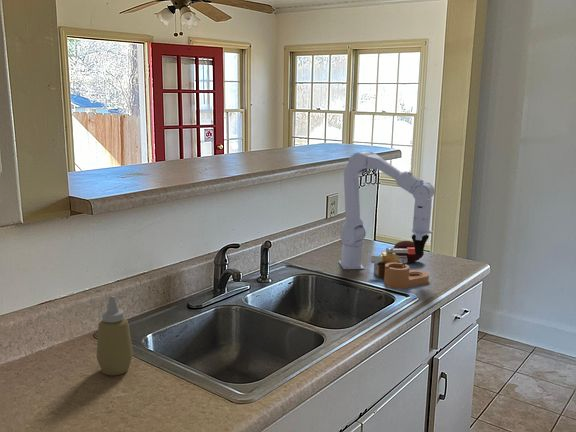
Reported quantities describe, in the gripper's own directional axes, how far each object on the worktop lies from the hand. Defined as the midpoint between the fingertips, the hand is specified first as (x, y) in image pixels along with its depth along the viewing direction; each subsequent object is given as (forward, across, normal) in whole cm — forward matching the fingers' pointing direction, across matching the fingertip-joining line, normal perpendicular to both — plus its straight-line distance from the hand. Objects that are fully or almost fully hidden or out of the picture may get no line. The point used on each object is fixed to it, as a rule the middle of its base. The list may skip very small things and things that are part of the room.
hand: (418, 255), depth 195 cm
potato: (+10, +22, +6) cm, 25 cm away
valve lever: (+1, +3, +6) cm, 7 cm away
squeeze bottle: (+9, -94, +60) cm, 112 cm away
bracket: (+10, -4, +3) cm, 11 cm away
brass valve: (+9, +1, +10) cm, 14 cm away
